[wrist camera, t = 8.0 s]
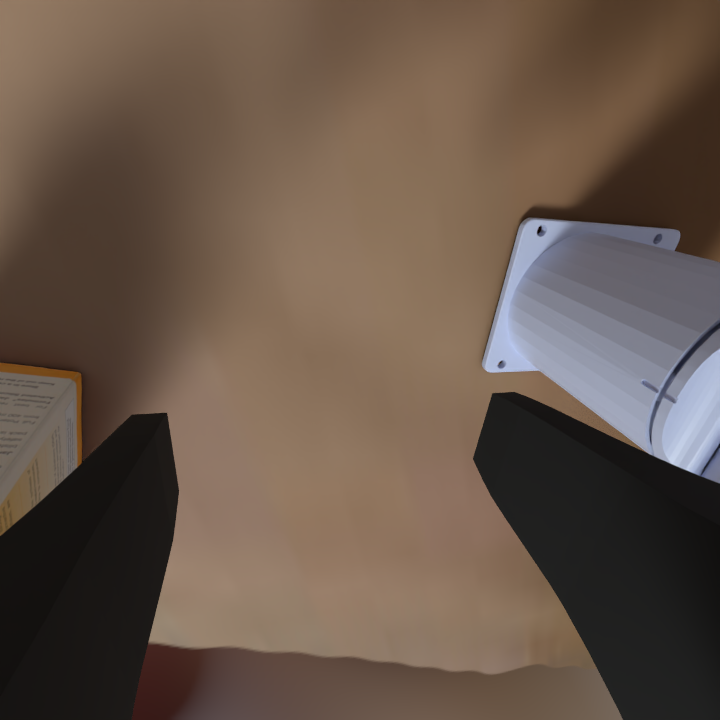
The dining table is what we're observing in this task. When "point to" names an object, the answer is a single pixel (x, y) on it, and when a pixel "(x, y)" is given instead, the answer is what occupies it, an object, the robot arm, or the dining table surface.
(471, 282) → the dining table surface
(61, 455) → the supplement box
